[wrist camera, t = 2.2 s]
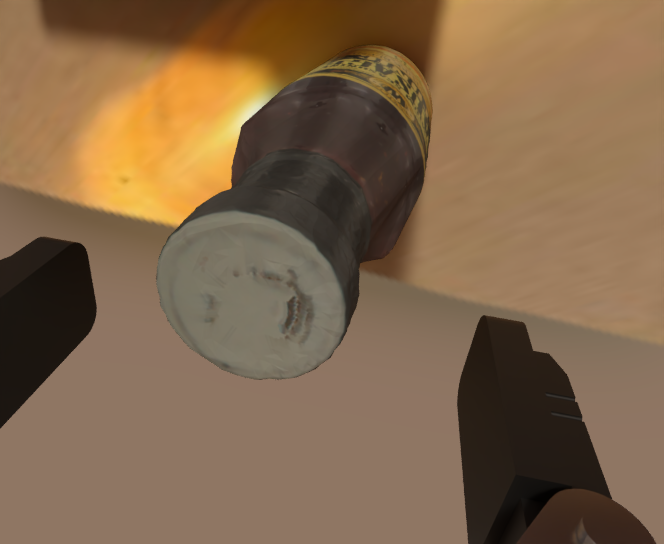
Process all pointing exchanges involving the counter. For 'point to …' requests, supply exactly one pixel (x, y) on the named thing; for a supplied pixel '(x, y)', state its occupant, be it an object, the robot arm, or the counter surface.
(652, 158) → the counter surface
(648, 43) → the counter surface
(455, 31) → the counter surface
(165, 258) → the sauce bottle
